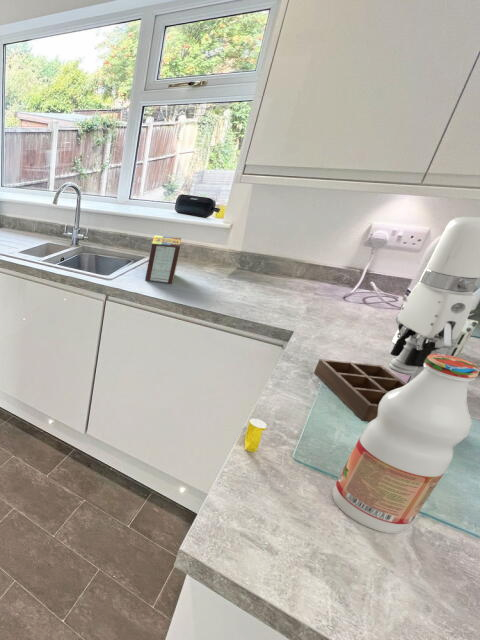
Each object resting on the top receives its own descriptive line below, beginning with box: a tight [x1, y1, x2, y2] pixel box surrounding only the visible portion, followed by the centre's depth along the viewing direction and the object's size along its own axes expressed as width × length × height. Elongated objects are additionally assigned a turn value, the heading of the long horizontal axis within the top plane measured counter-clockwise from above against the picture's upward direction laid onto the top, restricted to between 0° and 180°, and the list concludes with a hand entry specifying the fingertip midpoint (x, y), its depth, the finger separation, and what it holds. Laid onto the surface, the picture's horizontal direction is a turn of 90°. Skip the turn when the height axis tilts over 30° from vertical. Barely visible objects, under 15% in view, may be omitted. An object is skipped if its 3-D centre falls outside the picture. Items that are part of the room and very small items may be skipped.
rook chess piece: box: [387, 335, 419, 376], centre depth 90 cm, size 4×4×8 cm
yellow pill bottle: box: [244, 418, 268, 453], centre depth 79 cm, size 6×3×6 cm, turn 150°
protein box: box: [144, 234, 182, 285], centre depth 170 cm, size 10×15×16 cm
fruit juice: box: [332, 354, 480, 534], centre depth 61 cm, size 9×9×28 cm
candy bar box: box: [406, 318, 479, 384], centre depth 98 cm, size 11×5×16 cm, turn 122°
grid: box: [313, 358, 407, 423], centre depth 94 cm, size 13×20×4 cm
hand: (406, 359), depth 90 cm, fingers closed on rook chess piece, 3 cm apart
